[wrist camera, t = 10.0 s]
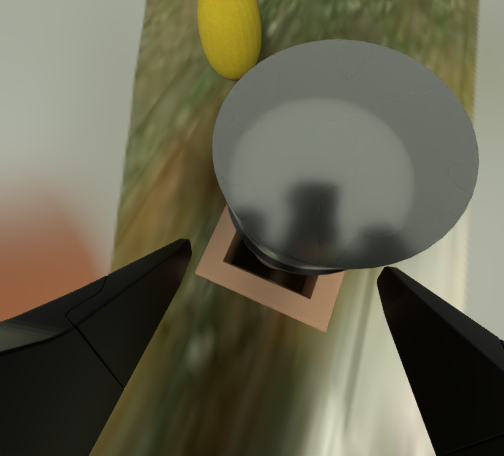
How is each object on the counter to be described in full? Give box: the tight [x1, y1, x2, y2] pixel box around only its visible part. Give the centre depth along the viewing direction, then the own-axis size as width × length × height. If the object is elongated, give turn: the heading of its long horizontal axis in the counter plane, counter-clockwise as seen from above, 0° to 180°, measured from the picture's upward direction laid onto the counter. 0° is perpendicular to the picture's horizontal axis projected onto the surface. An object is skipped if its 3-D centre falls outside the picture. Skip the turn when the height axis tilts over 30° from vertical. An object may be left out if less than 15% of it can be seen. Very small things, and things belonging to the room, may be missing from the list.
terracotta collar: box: [195, 204, 345, 333], centre depth 15 cm, size 9×9×4 cm
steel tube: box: [212, 39, 479, 275], centre depth 10 cm, size 5×5×14 cm
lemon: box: [197, 0, 262, 80], centre depth 17 cm, size 6×6×8 cm
